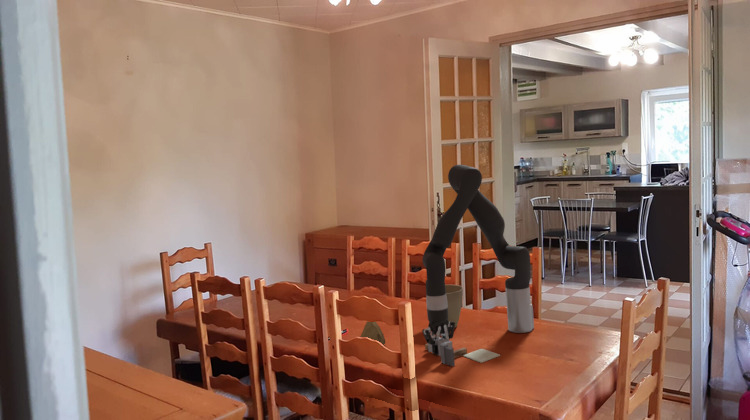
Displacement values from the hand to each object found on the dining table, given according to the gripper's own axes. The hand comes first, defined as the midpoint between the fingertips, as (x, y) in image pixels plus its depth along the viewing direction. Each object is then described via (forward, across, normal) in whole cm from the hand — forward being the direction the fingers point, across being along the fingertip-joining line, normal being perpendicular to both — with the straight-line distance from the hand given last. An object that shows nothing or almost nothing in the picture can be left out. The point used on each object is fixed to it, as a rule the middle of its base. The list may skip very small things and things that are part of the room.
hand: (441, 352), depth 205 cm
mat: (0, +8, -12) cm, 15 cm away
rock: (+1, -12, +27) cm, 30 cm away
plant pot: (+1, +22, +22) cm, 31 cm away
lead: (0, 0, 0) cm, 0 cm away
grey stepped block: (0, -5, -10) cm, 12 cm away
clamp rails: (0, +2, 0) cm, 2 cm away
